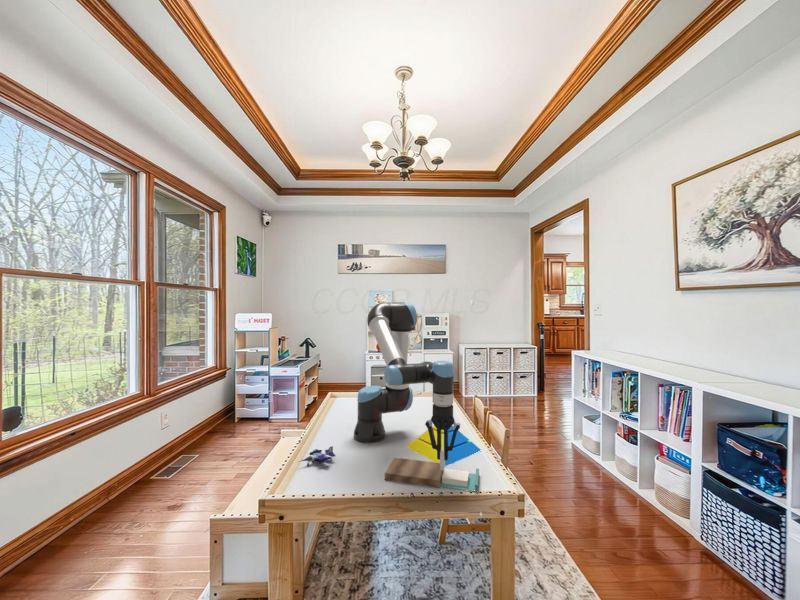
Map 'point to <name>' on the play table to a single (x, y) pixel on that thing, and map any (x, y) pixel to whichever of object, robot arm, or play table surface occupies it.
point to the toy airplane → (320, 456)
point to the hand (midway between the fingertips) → (442, 468)
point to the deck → (414, 472)
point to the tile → (455, 477)
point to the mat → (471, 483)
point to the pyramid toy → (458, 452)
